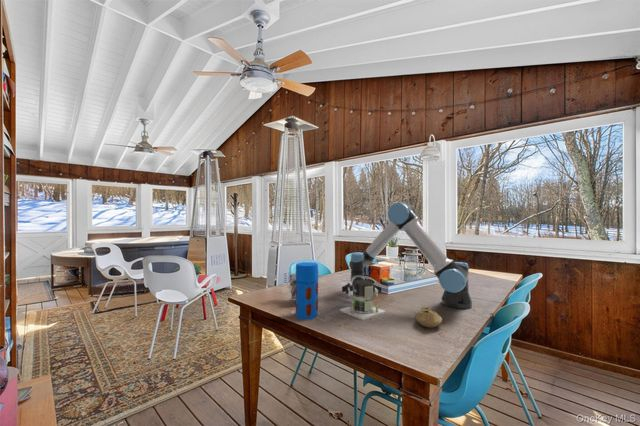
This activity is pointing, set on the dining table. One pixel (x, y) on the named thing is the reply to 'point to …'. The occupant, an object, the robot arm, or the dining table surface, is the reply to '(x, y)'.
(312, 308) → the thermos
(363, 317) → the pin jig
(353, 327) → the dining table surface
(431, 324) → the oil lamp
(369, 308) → the coffee can
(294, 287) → the robotic toy
